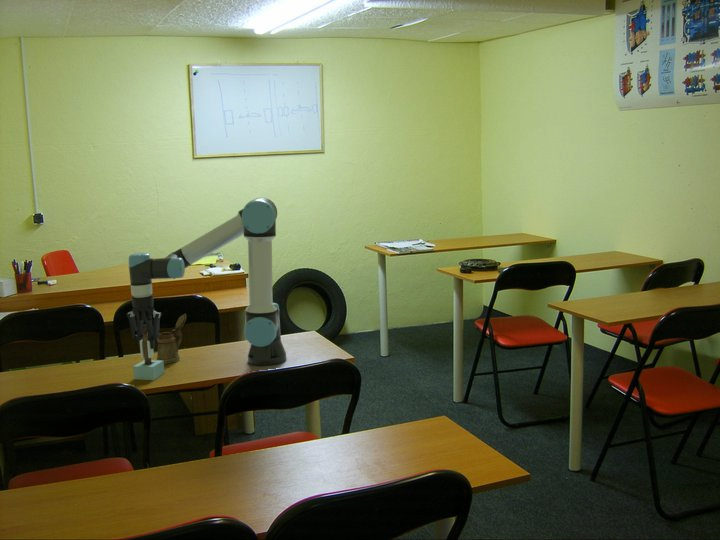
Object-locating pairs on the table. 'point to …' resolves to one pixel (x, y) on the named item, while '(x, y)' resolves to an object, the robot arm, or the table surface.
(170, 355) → the wooden mug
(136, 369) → the bead
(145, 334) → the brown stepped rod
